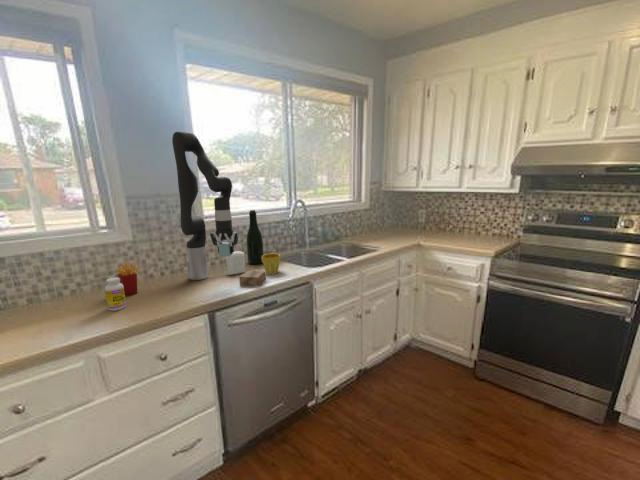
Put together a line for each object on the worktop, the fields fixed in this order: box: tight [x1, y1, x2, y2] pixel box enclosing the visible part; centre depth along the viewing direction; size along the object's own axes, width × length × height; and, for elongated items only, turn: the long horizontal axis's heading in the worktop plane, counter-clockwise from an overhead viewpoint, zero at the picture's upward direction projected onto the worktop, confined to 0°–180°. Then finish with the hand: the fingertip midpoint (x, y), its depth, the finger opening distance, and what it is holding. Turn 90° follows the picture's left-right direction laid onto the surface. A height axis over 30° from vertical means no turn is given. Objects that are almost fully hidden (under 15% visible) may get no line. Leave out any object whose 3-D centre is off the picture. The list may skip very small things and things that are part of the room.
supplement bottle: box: [104, 276, 127, 312], centre depth 135 cm, size 7×7×13 cm
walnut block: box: [238, 270, 267, 287], centre depth 163 cm, size 10×10×5 cm
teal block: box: [218, 241, 233, 257], centre depth 158 cm, size 5×5×6 cm
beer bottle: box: [245, 209, 265, 265], centre depth 199 cm, size 10×10×33 cm
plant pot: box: [261, 253, 281, 275], centre depth 180 cm, size 10×10×10 cm
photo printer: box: [225, 250, 246, 276], centre depth 180 cm, size 10×4×12 cm, turn 123°
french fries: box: [116, 262, 141, 297], centre depth 153 cm, size 9×8×15 cm
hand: (226, 253), depth 158 cm, fingers closed on teal block, 5 cm apart
